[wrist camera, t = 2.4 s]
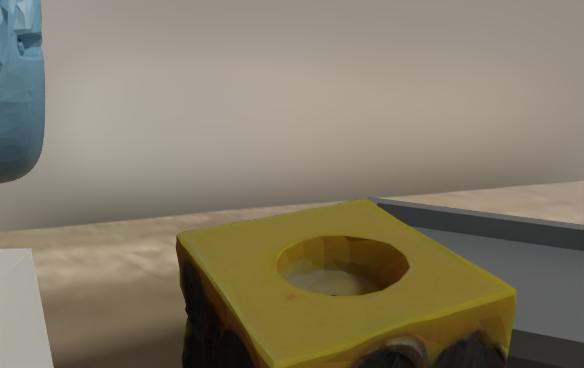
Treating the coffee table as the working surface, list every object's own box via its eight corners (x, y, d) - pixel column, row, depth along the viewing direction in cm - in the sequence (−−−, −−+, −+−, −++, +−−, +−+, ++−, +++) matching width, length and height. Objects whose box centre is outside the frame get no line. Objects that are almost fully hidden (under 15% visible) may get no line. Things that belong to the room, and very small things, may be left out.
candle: (183, 415, 27) (165, 231, 24) (357, 356, 31) (363, 192, 28) (266, 617, 18) (258, 374, 15) (491, 498, 23) (525, 287, 19)
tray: (306, 323, 34) (306, 288, 33) (367, 223, 48) (368, 197, 47) (685, 406, 27) (698, 365, 26) (627, 261, 41) (635, 231, 40)
